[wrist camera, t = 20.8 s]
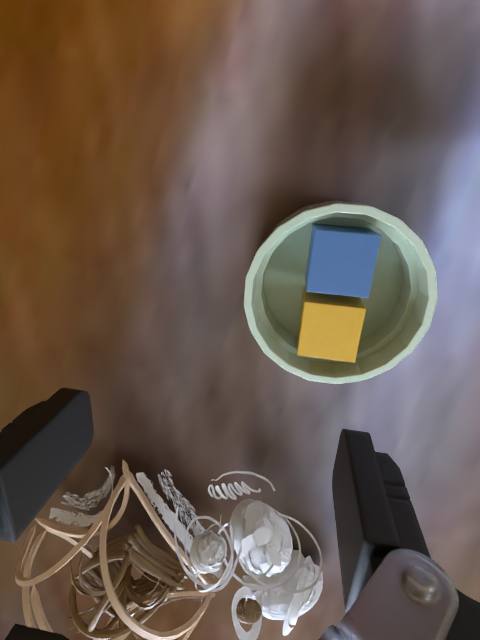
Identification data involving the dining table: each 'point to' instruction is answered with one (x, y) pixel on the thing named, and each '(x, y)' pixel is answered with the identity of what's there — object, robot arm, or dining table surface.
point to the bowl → (381, 307)
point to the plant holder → (177, 564)
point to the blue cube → (341, 260)
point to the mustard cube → (330, 326)
